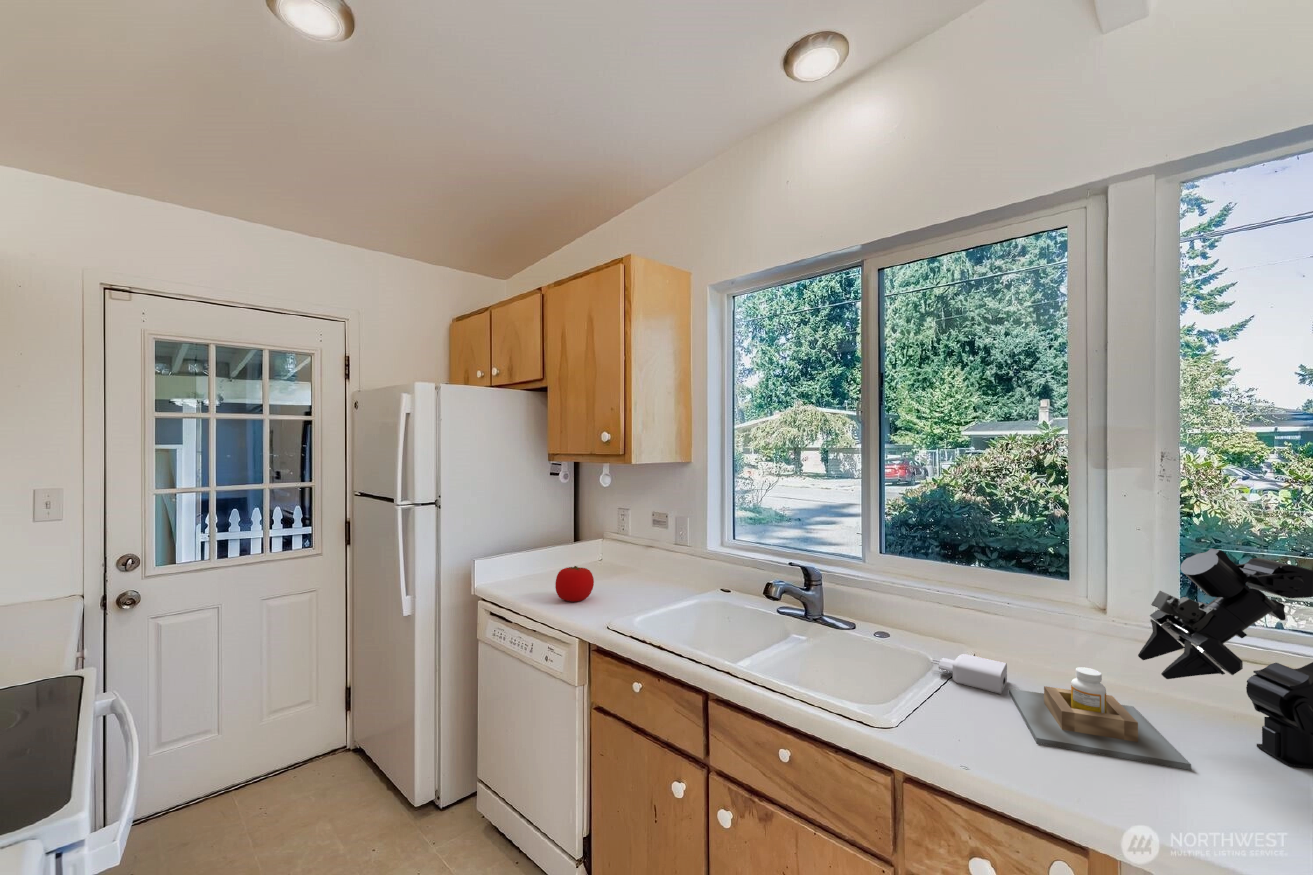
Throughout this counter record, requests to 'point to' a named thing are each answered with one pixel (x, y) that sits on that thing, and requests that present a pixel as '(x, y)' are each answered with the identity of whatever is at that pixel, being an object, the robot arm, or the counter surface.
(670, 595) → the counter surface
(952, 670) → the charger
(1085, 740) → the socket block
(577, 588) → the tomato
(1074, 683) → the supplement bottle
